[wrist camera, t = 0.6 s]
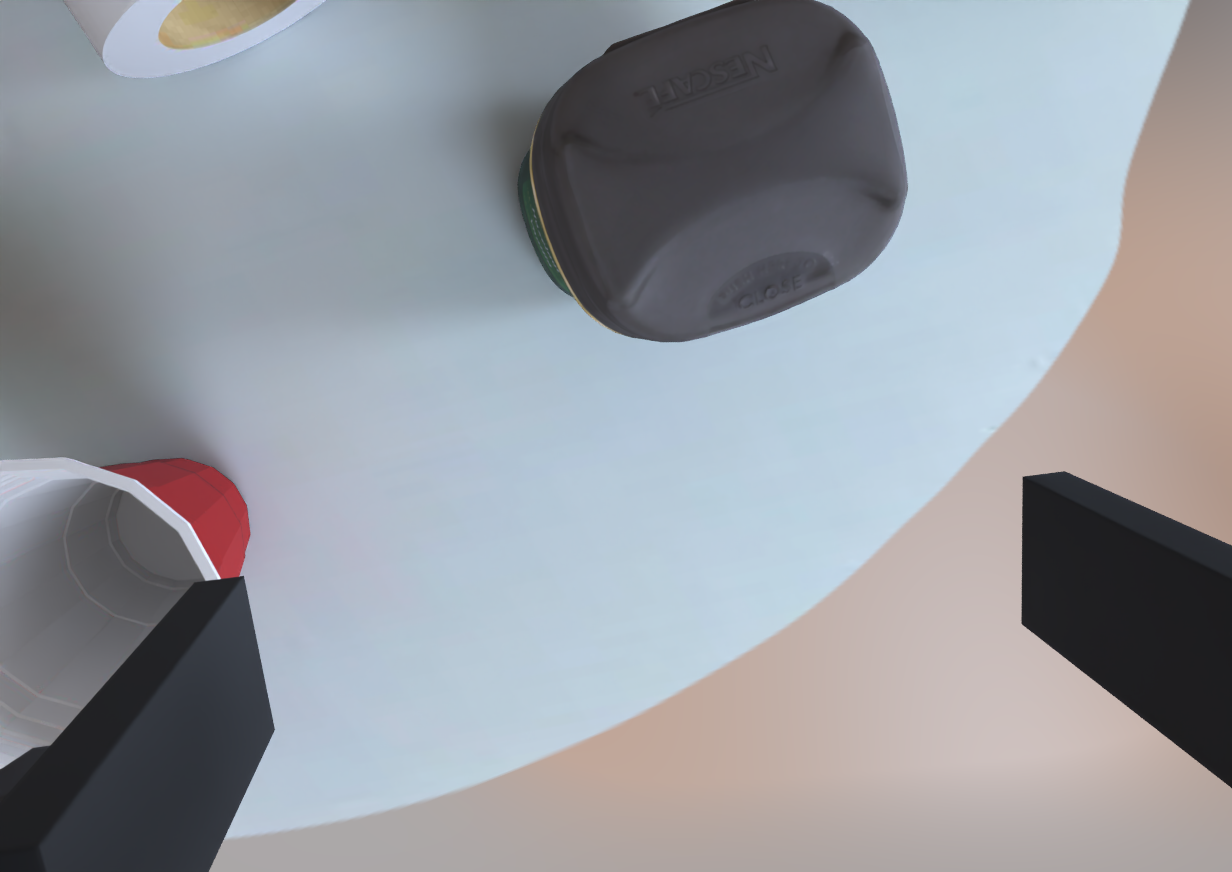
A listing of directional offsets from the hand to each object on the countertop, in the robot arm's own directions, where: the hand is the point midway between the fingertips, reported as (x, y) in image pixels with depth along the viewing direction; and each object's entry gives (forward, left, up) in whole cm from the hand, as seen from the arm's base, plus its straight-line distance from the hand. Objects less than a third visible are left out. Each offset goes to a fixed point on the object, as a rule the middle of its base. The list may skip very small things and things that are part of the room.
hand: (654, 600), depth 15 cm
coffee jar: (-7, +4, -27) cm, 28 cm away
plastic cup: (+5, -17, -27) cm, 32 cm away
